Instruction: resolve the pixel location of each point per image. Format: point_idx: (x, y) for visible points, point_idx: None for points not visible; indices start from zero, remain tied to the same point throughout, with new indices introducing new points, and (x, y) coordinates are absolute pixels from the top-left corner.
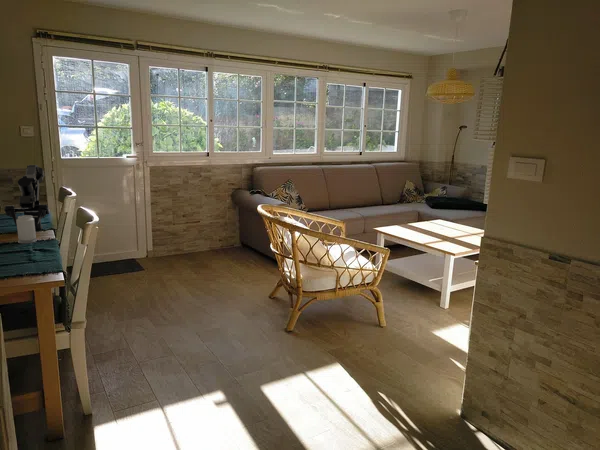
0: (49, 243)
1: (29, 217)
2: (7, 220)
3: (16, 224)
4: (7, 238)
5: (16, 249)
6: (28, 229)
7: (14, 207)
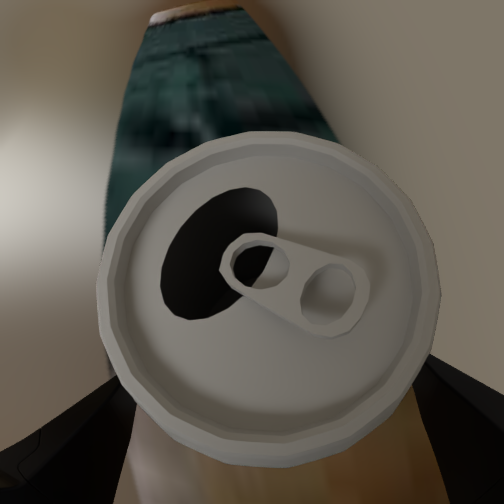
0: None
1: (154, 175)
2: None
3: (416, 378)
4: None
5: None
6: (228, 240)
7: None
